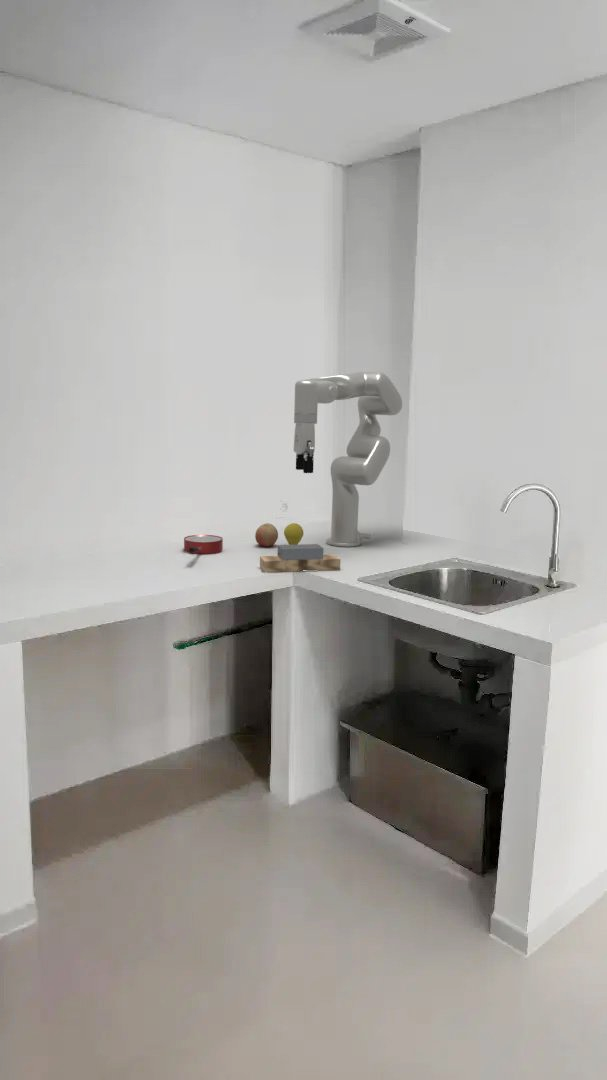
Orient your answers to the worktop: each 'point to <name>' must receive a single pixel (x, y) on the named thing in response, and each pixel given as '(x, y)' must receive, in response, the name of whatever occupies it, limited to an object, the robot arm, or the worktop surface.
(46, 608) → the worktop surface
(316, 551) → the brushed steel slab
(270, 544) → the fruit
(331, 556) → the light brown long block
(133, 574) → the worktop surface
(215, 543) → the frying pan
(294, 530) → the light bulb
